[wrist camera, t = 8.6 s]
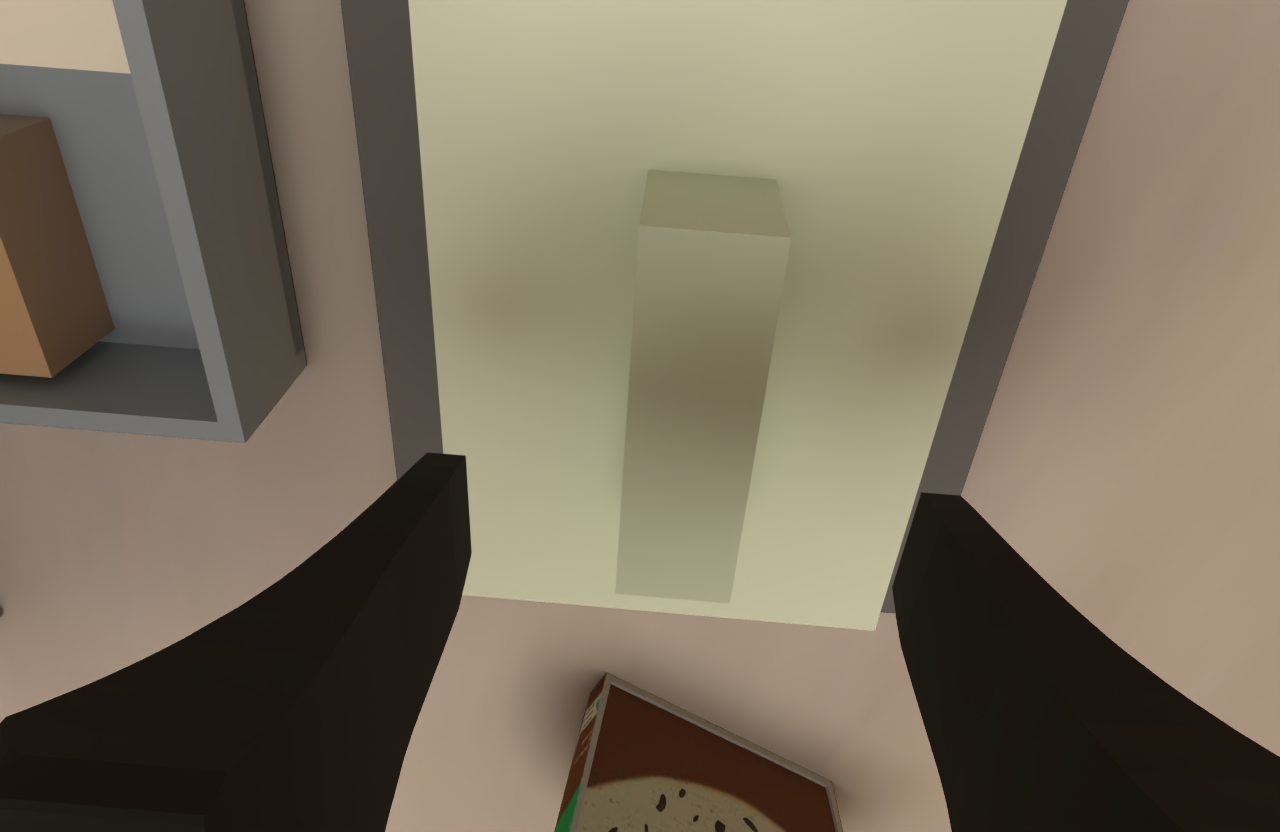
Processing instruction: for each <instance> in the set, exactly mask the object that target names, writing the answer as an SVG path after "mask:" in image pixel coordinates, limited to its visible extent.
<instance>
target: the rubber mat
mask: <svg viewBox="0 0 1280 832" xmlns="http://www.w3.org/2000/svg"><path fill="white" fill-rule="evenodd" d="M1128 2H1129V0H1067V3H1066V6H1065V10H1064V13H1063V16H1062V19H1061V23H1060V26H1059V29H1058V33H1057V36H1056V39H1055V42H1054V46H1053V49H1052V52H1051V56H1050V59H1049V62H1048V65H1047V69H1046V72H1045V75H1044V78H1043V82H1042V85H1041V88H1040V92H1039V95H1038V98H1037V101H1036V105H1035V108H1034V111H1033V114H1032V118H1031V121H1030V124H1029V128H1028V131H1027V134H1026V137H1025V141H1024V144H1023V147H1022V150H1021V154H1020V157H1019V160H1018V164H1017V167H1016V170H1015V173H1014V177H1013V180H1012V183H1011V186H1010V190H1009V193H1008V196H1007V200H1006V203H1005V206H1004V209H1003V213H1002V216H1001V219H1000V222H999V226H998V229H997V232H996V236H995V239H994V242H993V245H992V249H991V252H990V255H989V258H988V262H987V265H986V268H985V272H984V275H983V278H982V281H981V285H980V288H979V291H978V294H977V298H976V301H975V304H974V308H973V311H972V314H971V317H970V321H969V324H968V327H967V330H966V334H965V337H964V340H963V344H962V347H961V350H960V353H959V357H958V360H957V363H956V366H955V370H954V373H953V376H952V380H951V383H950V386H949V389H948V393H947V396H946V399H945V402H944V406H943V409H942V412H941V416H940V419H939V422H938V425H937V429H936V432H935V435H934V438H933V442H932V445H931V448H930V452H929V455H928V458H927V461H926V465H925V468H924V471H923V474H922V478H921V481H920V484H919V488H918V491H917V494H916V497H915V501H914V504H913V507H912V510H911V514H910V517H909V520H908V524H907V527H906V530H905V533H904V537H903V540H902V543H901V547H900V550H899V553H898V556H897V560H896V563H895V566H894V569H893V573H892V576H891V579H890V583H889V586H888V589H887V592H886V596H885V599H884V602H883V605H882V609H881V612H884V613H896V612H895V605H894V598H893V591H892V586H893V583H894V580H895V576H896V573H897V570H898V567H899V563H900V560H901V557H902V554H903V550H904V547H905V544H906V540H907V537H908V534H909V531H910V527H911V524H912V521H913V518H914V514H915V511H916V508H917V505H918V501H919V498H920V495H921V492H923V493H936V494H948V495H960V496H961V493H962V490H963V487H964V484H965V481H966V478H967V475H968V472H969V469H970V466H971V464H972V461H973V458H974V455H975V452H976V449H977V446H978V443H979V440H980V437H981V434H982V431H983V428H984V425H985V422H986V419H987V416H988V414H989V411H990V408H991V405H992V402H993V399H994V396H995V393H996V390H997V387H998V384H999V381H1000V378H1001V375H1002V372H1003V369H1004V366H1005V363H1006V361H1007V358H1008V355H1009V352H1010V349H1011V346H1012V343H1013V340H1014V337H1015V334H1016V331H1017V328H1018V325H1019V322H1020V319H1021V316H1022V313H1023V311H1024V308H1025V305H1026V302H1027V299H1028V296H1029V293H1030V290H1031V287H1032V284H1033V281H1034V278H1035V275H1036V272H1037V269H1038V266H1039V263H1040V261H1041V258H1042V255H1043V252H1044V249H1045V246H1046V243H1047V240H1048V237H1049V234H1050V231H1051V228H1052V225H1053V222H1054V219H1055V216H1056V213H1057V210H1058V208H1059V205H1060V202H1061V199H1062V196H1063V193H1064V190H1065V187H1066V184H1067V181H1068V178H1069V175H1070V172H1071V169H1072V166H1073V163H1074V160H1075V158H1076V155H1077V152H1078V149H1079V146H1080V143H1081V140H1082V137H1083V134H1084V131H1085V128H1086V125H1087V122H1088V119H1089V116H1090V113H1091V110H1092V107H1093V105H1094V102H1095V99H1096V96H1097V93H1098V90H1099V87H1100V84H1101V81H1102V78H1103V75H1104V72H1105V69H1106V66H1107V63H1108V60H1109V57H1110V55H1111V52H1112V49H1113V46H1114V43H1115V40H1116V37H1117V34H1118V31H1119V28H1120V25H1121V22H1122V19H1123V16H1124V13H1125V10H1126V7H1127V5H1128ZM341 7H342V15H343V24H344V32H345V41H346V49H347V58H348V66H349V75H350V83H351V92H352V100H353V109H354V117H355V126H356V134H357V143H358V151H359V160H360V168H361V177H362V185H363V194H364V202H365V211H366V219H367V228H368V236H369V245H370V253H371V262H372V270H373V278H374V287H375V295H376V304H377V312H378V321H379V329H380V338H381V346H382V355H383V363H384V372H385V380H386V389H387V397H388V406H389V414H390V423H391V431H392V440H393V448H394V457H395V465H396V474H397V480H398V479H399V478H400V477H401V476H402V475H403V474H405V473H406V472H407V471H408V470H409V469H410V468H411V467H412V466H413V465H414V464H415V463H416V462H417V461H418V460H419V459H420V458H421V457H423V456H424V455H425V454H426V453H428V452H429V453H441V454H443V442H442V429H441V416H440V404H439V391H438V378H437V365H436V352H435V339H434V326H433V313H432V300H431V287H430V274H429V261H428V248H427V235H426V222H425V209H424V196H423V183H422V170H421V157H420V144H419V131H418V118H417V105H416V92H415V80H414V67H413V54H412V41H411V28H410V15H409V2H408V0H341Z"/></svg>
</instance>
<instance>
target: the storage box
mask: <svg viewBox="0 0 1280 832" xmlns="http://www.w3.org/2000/svg"><path fill="white" fill-rule="evenodd" d="M306 366H307V363H306V357H305V351H304V346H303V340H302V334H301V328H300V323H299V317H298V311H297V305H296V300H295V294H294V288H293V283H292V277H291V271H290V265H289V260H288V254H287V248H286V242H285V237H284V231H283V225H282V219H281V214H280V208H279V202H278V197H277V191H276V185H275V179H274V174H273V168H272V162H271V156H270V151H269V145H268V139H267V133H266V128H265V122H264V116H263V111H262V105H261V99H260V93H259V88H258V82H257V76H256V70H255V65H254V59H253V53H252V47H251V42H250V36H249V30H248V25H247V19H246V13H245V7H244V2H243V0H0V423H9V424H21V425H33V426H45V427H57V428H69V429H81V430H93V431H105V432H117V433H129V434H141V435H153V436H165V437H177V438H189V439H201V440H213V441H225V442H237V443H246V442H247V440H248V439H249V438H250V437H251V435H252V434H253V433H254V431H255V430H256V429H257V428H258V426H259V425H260V424H261V423H262V421H263V420H264V419H265V418H266V416H267V415H268V414H269V413H270V411H271V410H272V409H273V407H274V406H275V405H276V404H277V402H278V401H279V400H280V399H281V397H282V396H283V395H284V394H285V392H286V391H287V390H288V389H289V387H290V386H291V385H292V383H293V382H294V381H295V380H296V378H297V377H298V376H299V375H300V373H301V372H302V371H303V370H304V368H305V367H306Z"/></svg>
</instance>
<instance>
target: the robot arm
mask: <svg viewBox="0 0 1280 832" xmlns="http://www.w3.org/2000/svg"><path fill="white" fill-rule="evenodd" d="M471 554H472V550H471V534H470V517H469V501H468V484H467V468H466V455H453V454H441V453H429V452H428V453H426V454H425V455H424V456H423V457H421V458H420V459H419V460H418V461H417V462H416V463H415V464H414V465H413V466H412V467H411V468H410V469H409V470H408V471H407V472H406V473H405V474H403V475H402V476H401V477H400V478H399V479H398V480H397V481H396V482H395V483H394V484H393V485H392V486H391V487H390V488H389V489H388V490H387V491H386V492H385V493H384V494H382V495H381V496H380V497H379V498H378V499H377V500H376V501H375V502H374V503H373V504H372V505H371V506H369V507H368V508H367V509H366V510H365V511H364V512H363V513H362V514H361V515H359V516H358V517H357V518H356V519H355V520H354V521H353V522H352V523H350V524H349V525H348V526H347V527H346V528H345V529H344V530H343V531H341V532H340V533H339V534H338V535H337V536H335V537H334V538H333V539H332V540H330V541H329V542H328V543H327V544H325V545H324V546H323V547H322V548H321V549H319V550H318V551H317V552H316V553H314V554H313V555H312V556H311V557H309V558H308V559H307V560H306V561H304V562H303V563H302V564H301V565H299V566H298V567H297V568H295V569H294V570H293V571H291V572H290V573H288V574H287V575H286V576H284V577H283V578H282V579H280V580H279V581H277V582H276V583H275V584H273V585H272V586H270V587H269V588H267V589H266V590H264V591H263V592H261V593H260V594H258V595H256V596H255V597H253V598H252V599H250V600H249V601H247V602H246V603H244V604H243V605H241V606H239V607H238V608H236V609H234V610H233V611H231V612H229V613H227V614H226V615H224V616H222V617H220V618H219V619H217V620H215V621H213V622H212V623H210V624H208V625H207V626H205V627H203V628H201V629H200V630H198V631H196V632H194V633H193V634H191V635H189V636H187V637H186V638H184V639H182V640H180V641H178V642H176V643H174V644H173V645H171V646H169V647H167V648H165V649H163V650H161V651H159V652H157V653H155V654H153V655H151V656H149V657H147V658H145V659H143V660H141V661H138V662H136V663H134V664H132V665H130V666H128V667H126V668H124V669H121V670H119V671H117V672H115V673H113V674H111V675H109V676H106V677H104V678H102V679H99V680H97V681H95V682H93V683H90V684H88V685H86V686H83V687H81V688H78V689H76V690H73V691H71V692H68V693H66V694H63V695H61V696H58V697H56V698H53V699H51V700H48V701H46V702H43V703H41V704H38V705H36V706H34V707H31V708H29V709H26V710H24V711H21V712H18V713H15V714H13V715H10V716H7V717H6V718H5V719H4V720H3V721H2V722H1V723H0V832H385V829H386V825H387V821H388V817H389V813H390V809H391V805H392V802H393V798H394V794H395V790H396V786H397V783H398V779H399V775H400V771H401V768H402V764H403V760H404V756H405V753H406V750H407V747H408V744H409V741H410V738H411V735H412V732H413V729H414V727H415V724H416V721H417V719H418V716H419V713H420V711H421V708H422V705H423V703H424V700H425V697H426V695H427V692H428V690H429V687H430V684H431V682H432V679H433V676H434V674H435V671H436V668H437V666H438V663H439V661H440V658H441V655H442V653H443V650H444V647H445V645H446V642H447V639H448V636H449V634H450V631H451V628H452V626H453V623H454V620H455V617H456V615H457V612H458V609H459V605H460V601H461V597H462V593H463V589H464V585H465V581H466V576H467V572H468V567H469V563H470V559H471ZM892 591H893V598H894V605H895V612H896V620H897V625H898V631H899V637H900V643H901V648H902V651H903V655H904V658H905V662H906V665H907V669H908V672H909V676H910V679H911V682H912V686H913V689H914V693H915V696H916V699H917V702H918V706H919V709H920V712H921V716H922V719H923V722H924V726H925V729H926V732H927V736H928V739H929V742H930V745H931V749H932V752H933V755H934V759H935V762H936V765H937V769H938V772H939V776H940V779H941V783H942V787H943V791H944V795H945V799H946V803H947V808H948V814H949V819H950V824H951V829H952V832H1280V757H1279V756H1277V755H1275V754H1274V753H1272V752H1270V751H1269V750H1267V749H1265V748H1264V747H1262V746H1261V745H1259V744H1257V743H1256V742H1254V741H1252V740H1251V739H1249V738H1248V737H1246V736H1244V735H1243V734H1241V733H1239V732H1238V731H1236V730H1235V729H1233V728H1232V727H1230V726H1229V725H1227V724H1226V723H1224V722H1223V721H1221V720H1220V719H1218V718H1217V717H1215V716H1214V715H1212V714H1211V713H1209V712H1208V711H1206V710H1205V709H1203V708H1202V707H1200V706H1199V705H1197V704H1196V703H1194V702H1193V701H1191V700H1190V699H1188V698H1187V697H1185V696H1184V695H1183V694H1181V693H1180V692H1178V691H1177V690H1176V689H1174V688H1173V687H1171V686H1170V685H1169V684H1167V683H1166V682H1164V681H1163V680H1162V679H1161V678H1159V677H1158V676H1157V675H1155V674H1154V673H1153V672H1151V671H1150V670H1149V669H1147V668H1146V667H1145V666H1144V665H1142V664H1141V663H1140V662H1138V661H1137V660H1136V659H1134V658H1133V657H1132V656H1131V655H1129V654H1128V653H1127V652H1125V651H1124V650H1123V649H1122V648H1120V647H1119V646H1118V645H1117V644H1116V643H1114V642H1113V641H1112V640H1111V639H1109V638H1108V637H1107V636H1106V635H1105V634H1103V633H1102V632H1101V631H1100V630H1099V629H1098V628H1097V627H1096V626H1094V625H1093V624H1092V623H1091V622H1090V621H1089V620H1088V619H1086V618H1085V617H1084V616H1083V615H1082V614H1081V613H1080V612H1078V611H1077V610H1076V609H1075V608H1074V607H1073V606H1072V605H1071V604H1070V603H1068V602H1067V601H1066V600H1065V599H1064V598H1063V597H1062V596H1061V595H1060V594H1059V593H1058V592H1057V591H1056V590H1054V589H1053V588H1052V587H1051V586H1050V585H1049V584H1048V583H1047V582H1046V581H1045V580H1044V579H1043V578H1042V577H1041V576H1040V575H1039V574H1038V573H1037V572H1036V571H1035V570H1034V569H1033V568H1032V567H1031V566H1030V565H1029V564H1028V563H1027V562H1026V561H1025V560H1024V559H1023V558H1022V557H1021V556H1020V555H1019V554H1018V553H1017V552H1016V551H1015V550H1014V549H1013V548H1012V547H1011V546H1010V545H1009V544H1008V543H1007V542H1006V541H1005V540H1004V539H1003V538H1002V537H1001V536H1000V535H999V534H998V533H997V532H996V531H995V530H994V529H993V528H992V527H991V526H990V525H989V524H988V522H987V521H986V520H985V519H984V518H983V517H982V516H981V515H980V514H979V513H978V512H977V511H976V510H975V509H974V508H973V507H972V506H971V505H970V504H969V503H968V502H967V501H965V500H964V499H963V498H962V497H961V496H960V495H948V494H936V493H923V492H921V495H920V498H919V501H918V505H917V508H916V511H915V514H914V518H913V521H912V524H911V527H910V531H909V534H908V537H907V540H906V544H905V547H904V550H903V554H902V557H901V560H900V563H899V567H898V570H897V573H896V576H895V580H894V583H893V586H892Z"/></svg>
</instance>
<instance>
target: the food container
mask: <svg viewBox="0 0 1280 832" xmlns="http://www.w3.org/2000/svg"><path fill="white" fill-rule="evenodd" d="M554 832H843V829H842V825H841V820H840V816H839V811H838V807H837V803H836V798H835V794H834V790H833V785H832V782H831V781H829V780H827V779H825V778H823V777H821V776H819V775H817V774H815V773H813V772H810V771H808V770H806V769H804V768H802V767H800V766H798V765H796V764H794V763H792V762H790V761H788V760H786V759H784V758H782V757H780V756H778V755H775V754H773V753H771V752H769V751H767V750H765V749H763V748H761V747H759V746H757V745H755V744H753V743H751V742H749V741H747V740H745V739H743V738H740V737H738V736H736V735H734V734H732V733H730V732H728V731H726V730H724V729H722V728H720V727H718V726H716V725H714V724H712V723H710V722H708V721H705V720H703V719H701V718H699V717H697V716H695V715H693V714H691V713H689V712H687V711H685V710H683V709H681V708H679V707H677V706H675V705H673V704H670V703H668V702H666V701H664V700H662V699H660V698H658V697H656V696H654V695H652V694H650V693H648V692H646V691H644V690H642V689H640V688H637V687H635V686H633V685H631V684H629V683H627V682H625V681H623V680H621V679H619V678H617V677H615V676H613V675H611V674H609V673H606V674H605V675H604V676H603V678H602V679H601V680H600V681H599V683H598V684H597V685H596V687H595V688H594V689H593V690H592V692H591V693H590V696H589V700H588V703H587V707H586V710H585V714H584V717H583V721H582V724H581V728H580V732H579V736H578V740H577V744H576V748H575V752H574V756H573V760H572V764H571V768H570V772H569V776H568V780H567V784H566V788H565V792H564V796H563V800H562V804H561V808H560V812H559V816H558V820H557V824H556V828H555V831H554Z"/></svg>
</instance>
